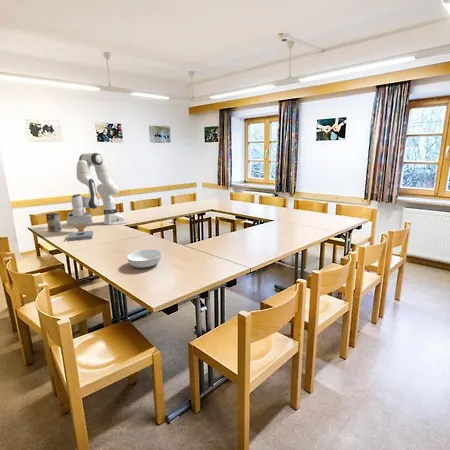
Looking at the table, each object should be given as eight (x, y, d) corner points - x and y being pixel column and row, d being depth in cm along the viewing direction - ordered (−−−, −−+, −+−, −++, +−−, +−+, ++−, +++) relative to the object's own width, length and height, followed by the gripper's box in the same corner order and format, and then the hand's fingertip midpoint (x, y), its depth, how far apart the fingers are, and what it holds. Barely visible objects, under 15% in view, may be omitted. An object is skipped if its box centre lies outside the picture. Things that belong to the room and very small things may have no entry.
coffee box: (48, 231, 269) (45, 214, 265) (54, 229, 275) (51, 212, 271) (55, 232, 266) (53, 214, 262) (61, 230, 272) (59, 213, 268)
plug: (84, 231, 267) (82, 222, 265) (83, 233, 263) (82, 224, 261) (79, 232, 266) (78, 223, 264) (78, 233, 261) (77, 224, 259)
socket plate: (93, 233, 259) (92, 230, 259) (92, 238, 245) (91, 235, 244) (70, 236, 253) (69, 232, 253) (67, 241, 239) (67, 237, 238)
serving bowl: (135, 258, 199) (134, 248, 198) (166, 259, 197) (165, 249, 196) (122, 271, 179) (121, 260, 178) (156, 272, 177) (155, 261, 176)
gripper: (91, 211, 266) (93, 226, 270) (66, 213, 259) (68, 228, 263) (91, 212, 261) (93, 228, 264) (65, 214, 254) (67, 230, 257)
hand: (80, 228), depth 263 cm, fingers closed on plug, 4 cm apart
